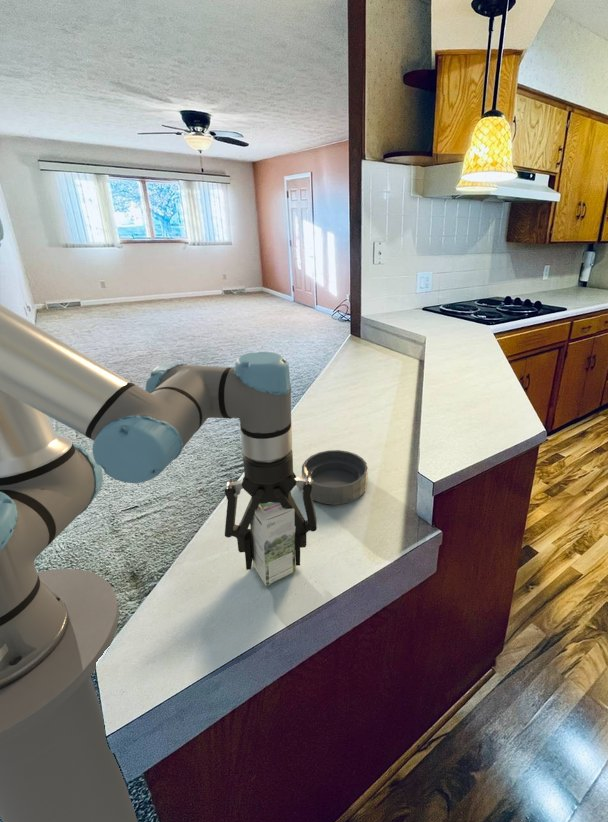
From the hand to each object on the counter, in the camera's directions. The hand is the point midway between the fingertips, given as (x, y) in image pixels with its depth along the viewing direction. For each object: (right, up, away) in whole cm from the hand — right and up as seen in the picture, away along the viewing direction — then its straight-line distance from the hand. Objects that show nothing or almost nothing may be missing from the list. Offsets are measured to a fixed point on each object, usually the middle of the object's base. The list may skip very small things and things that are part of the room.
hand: (274, 561), depth 73 cm
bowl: (+8, +7, +25) cm, 27 cm away
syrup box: (0, -2, +1) cm, 2 cm away
